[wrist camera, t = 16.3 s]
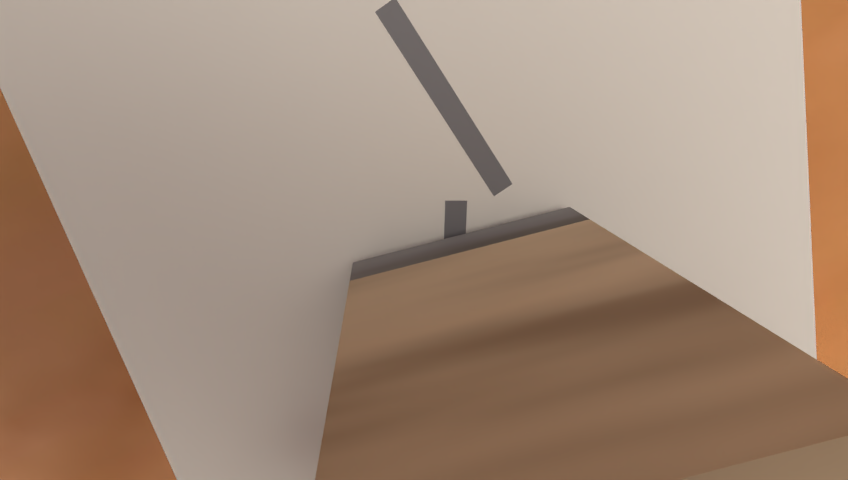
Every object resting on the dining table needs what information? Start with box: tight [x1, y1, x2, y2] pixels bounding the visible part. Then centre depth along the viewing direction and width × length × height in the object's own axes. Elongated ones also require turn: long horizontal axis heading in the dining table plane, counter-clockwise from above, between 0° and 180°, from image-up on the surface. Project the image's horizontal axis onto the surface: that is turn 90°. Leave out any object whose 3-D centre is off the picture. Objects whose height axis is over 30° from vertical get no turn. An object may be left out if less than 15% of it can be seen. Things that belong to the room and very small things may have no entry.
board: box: [0, 0, 817, 480], centre depth 16 cm, size 30×20×2 cm, turn 14°
